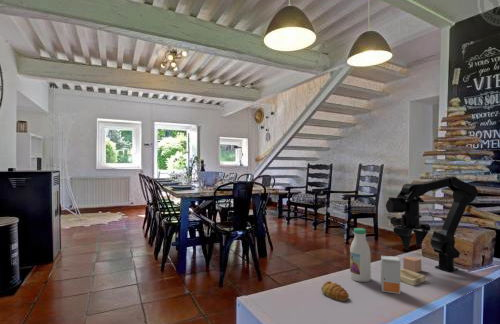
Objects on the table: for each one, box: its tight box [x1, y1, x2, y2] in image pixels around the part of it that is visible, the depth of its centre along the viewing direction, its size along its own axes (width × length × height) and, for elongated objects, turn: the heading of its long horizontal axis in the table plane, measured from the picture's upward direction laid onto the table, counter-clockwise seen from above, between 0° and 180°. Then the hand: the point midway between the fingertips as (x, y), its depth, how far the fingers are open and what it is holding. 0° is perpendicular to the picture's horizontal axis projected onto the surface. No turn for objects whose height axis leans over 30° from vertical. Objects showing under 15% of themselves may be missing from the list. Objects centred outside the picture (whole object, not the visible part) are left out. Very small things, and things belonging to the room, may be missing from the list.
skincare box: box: [380, 255, 401, 295], centre depth 101 cm, size 6×4×12 cm
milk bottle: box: [349, 227, 372, 283], centre depth 112 cm, size 8×8×20 cm
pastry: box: [321, 280, 350, 302], centre depth 97 cm, size 9×7×4 cm
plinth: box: [400, 268, 427, 286], centre depth 111 cm, size 9×9×2 cm
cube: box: [402, 255, 422, 273], centre depth 122 cm, size 5×5×5 cm
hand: (412, 248), depth 122 cm, fingers open, 9 cm apart
